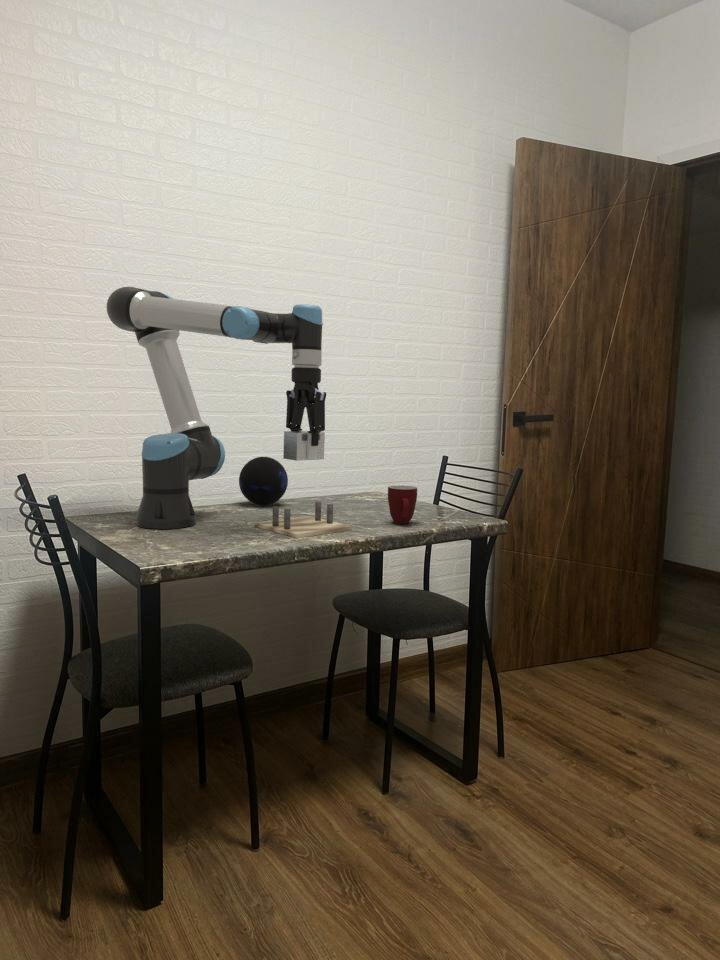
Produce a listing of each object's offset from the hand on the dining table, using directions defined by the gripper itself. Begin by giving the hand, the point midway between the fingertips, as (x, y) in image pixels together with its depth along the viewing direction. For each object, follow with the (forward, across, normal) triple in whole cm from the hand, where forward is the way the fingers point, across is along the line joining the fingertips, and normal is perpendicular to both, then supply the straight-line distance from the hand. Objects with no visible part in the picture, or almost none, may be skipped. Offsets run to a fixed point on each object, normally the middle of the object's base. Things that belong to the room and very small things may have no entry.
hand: (304, 457), depth 190 cm
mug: (+19, +12, +26) cm, 34 cm away
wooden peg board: (+19, 0, 0) cm, 19 cm away
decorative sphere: (+19, -36, +13) cm, 43 cm away
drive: (0, 0, 0) cm, 0 cm away
